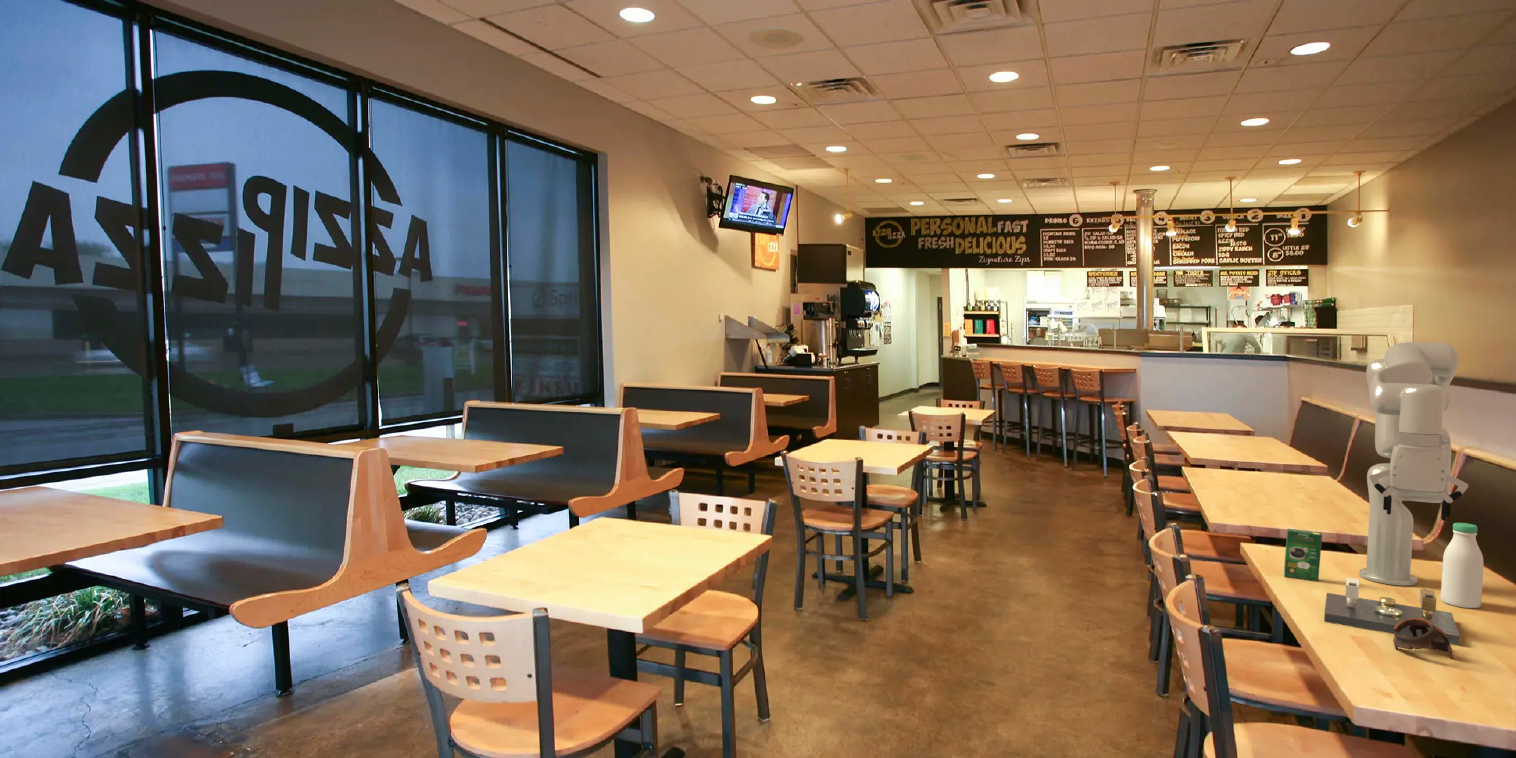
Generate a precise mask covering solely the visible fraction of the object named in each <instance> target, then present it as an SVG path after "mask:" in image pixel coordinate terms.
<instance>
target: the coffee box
mask: <svg viewBox="0 0 1516 758" xmlns="http://www.w3.org/2000/svg"><path fill="white" fill-rule="evenodd" d="M1285 541H1286V542H1285V543H1286V544H1285V555H1284V570H1283V574H1284V575H1283V576H1284V577H1285V578H1286V577H1287V578H1291V579H1299V580H1306V581H1313V582H1319V580H1320V576H1319V575H1320V561H1321V553H1322V541H1323V535H1322V533H1321V532H1316V531H1308V530H1299V529H1292V528H1287V529H1286V540H1285Z"/></svg>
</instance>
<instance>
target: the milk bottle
mask: <svg viewBox="0 0 1516 758" xmlns="http://www.w3.org/2000/svg"><path fill="white" fill-rule="evenodd" d="M1452 532H1453V536H1452V539H1451V540H1450V542H1449V544H1447V546H1446V547H1445V550H1444V552H1443V556H1442V566H1441V568H1442V569H1441V580H1440V601H1442V602H1443V603H1445V604H1447V605H1450V606H1455V607H1459V608H1463V609H1464V608H1465V609H1479V608H1480V607H1481V606H1482V599H1483V585H1484V584H1483V581H1484V556H1483V553H1482V551H1481V549H1480V547H1479V545H1478V542H1477V539H1476V537H1477V536H1478V526H1477V525H1476V524H1472V523H1467V522H1454V523H1453V525H1452Z"/></svg>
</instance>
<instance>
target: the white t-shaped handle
mask: <svg viewBox="0 0 1516 758" xmlns="http://www.w3.org/2000/svg"><path fill="white" fill-rule="evenodd" d="M1345 580H1346V581H1345V596H1346V598H1347V606H1351V607H1356V599H1358V598H1359V592H1360V591H1359V589H1360V588H1359V587H1360V581H1359V580H1360V579H1359V578H1353V577H1346V579H1345Z"/></svg>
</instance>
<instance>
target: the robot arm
mask: <svg viewBox="0 0 1516 758" xmlns="http://www.w3.org/2000/svg"><path fill="white" fill-rule="evenodd" d="M1368 363H1369V364H1368V365H1367V367H1366V374H1365V375H1366V382H1367V386H1368V395H1369V402H1370V406H1371V408H1372V410H1373V411H1374V412H1375V423H1374V425H1375V428H1374V430H1375V431H1374V444H1375V446H1374V447H1375V451H1376V453H1377V454H1378V455H1379V456H1380V457H1384V458H1387V459H1390V462H1389V463H1388V462H1385V463H1384V462H1383V463H1376V464H1375V465H1372V466H1370V468H1369V469H1368V471H1367V474H1366V483H1367V490H1368V491H1367V492H1368V499H1369V503H1368V504H1369V506H1368V507H1369V509H1368V511H1369V512H1368V530H1367V531H1368V532H1367V546H1366V547H1367V548H1366V549H1367V551H1366V566H1365V568H1361V569H1359V572H1358V575H1359V576H1360V577H1362V578H1363V579H1366V580H1368V581H1372V582H1375V583H1381V584H1386V585H1392V586H1402V587H1403V586H1404V587H1407V586H1409V587H1410V586H1416V585H1417V584H1418V578H1417V577H1416V576H1414V575H1412V574H1411V570H1412V568H1411V566H1412V551H1413V549H1412V548H1413V532H1414V516H1413V514H1412V512H1411V511H1410V509H1408V508H1407V507H1406V505H1404V504H1403V501H1405V502H1408V501H1410V502H1411V501H1412V502H1422V503H1432V504H1435V503H1436V504H1440V503H1441V509H1440V510H1441V511H1440V519H1441V521H1444V522H1446V521H1447V518H1450V517H1451V505H1452V503H1453V502H1454V501H1456V500H1457V499H1459V498H1461V497H1462V495H1463V494H1464V493H1465V492H1466V491H1467V489H1468V488H1469V484H1468V483H1466V482H1464V481H1462V480H1460V479H1458V478H1456V477H1454V476H1453V475H1451V474H1452V472H1451V471H1452V440H1451V436H1450V434H1449V432H1448V431H1447V430H1446V429H1445V428H1444V427H1443V418H1444V417H1443V416H1444V413H1445V411H1448V409H1449V404H1450V399H1449V398H1450V397H1449V392H1447V391H1446V389H1448V388H1449V387H1450V385H1451V382H1452V380H1453V378H1454V377H1455V376H1456V373H1457V371H1458V368H1459V354H1458V352H1457V350H1456V348H1455V347H1454V346H1452V345H1451V344H1449V343H1447V342H1420V341H1419V342H1411V341H1409V342H1399V343H1395V344H1394V345H1390V347H1389V348H1388V349H1386V351H1385V353H1384V358H1381V359H1375V360H1372V361H1370V362H1368ZM1451 484H1453V485H1455V486H1457V489H1456V490H1455V491H1453V492H1451Z"/></svg>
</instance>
